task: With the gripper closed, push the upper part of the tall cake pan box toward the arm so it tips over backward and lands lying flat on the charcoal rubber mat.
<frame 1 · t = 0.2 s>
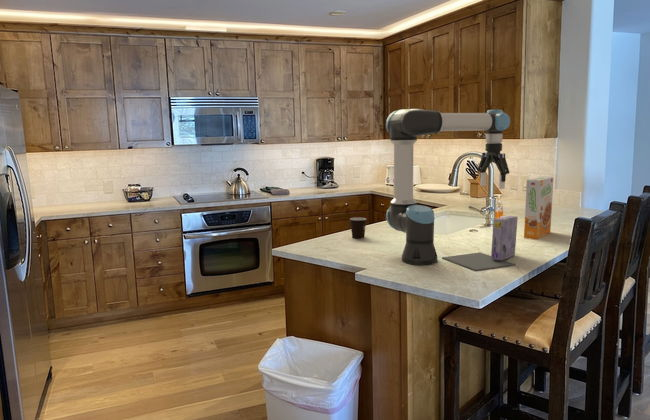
hand: (492, 187, 241), 28 cm above the worktop, tool pointing down, fingers open, 13 cm apart
coffee mug: (360, 237, 266), on the worktop
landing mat: (477, 261, 213), on the worktop
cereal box: (537, 235, 264), on the worktop
cake pan box: (503, 257, 218), on the worktop, touching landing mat
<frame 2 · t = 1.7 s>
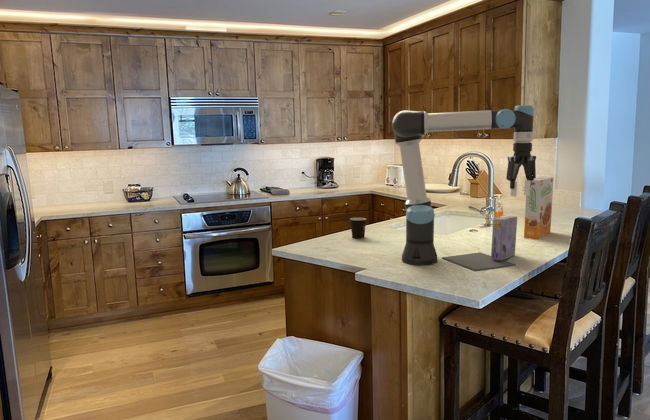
hand: (520, 195, 217), 27 cm above the worktop, tool pointing down, fingers open, 7 cm apart
nothing on the worktop moved.
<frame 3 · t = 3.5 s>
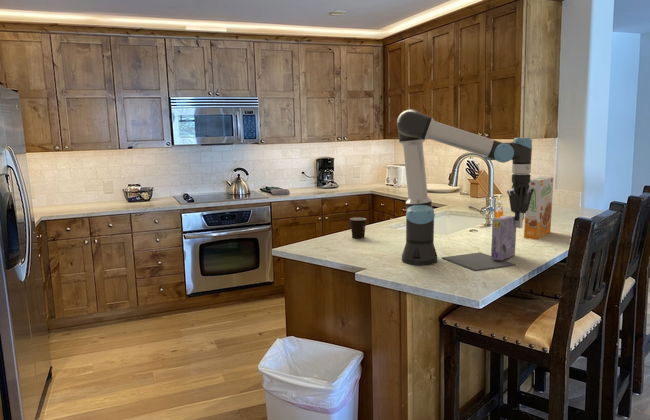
hand: (518, 227, 219), 13 cm above the worktop, tool pointing down, fingers closed
cake pan box: (503, 257, 218), on the worktop, touching gripper, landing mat
everything else where it was.
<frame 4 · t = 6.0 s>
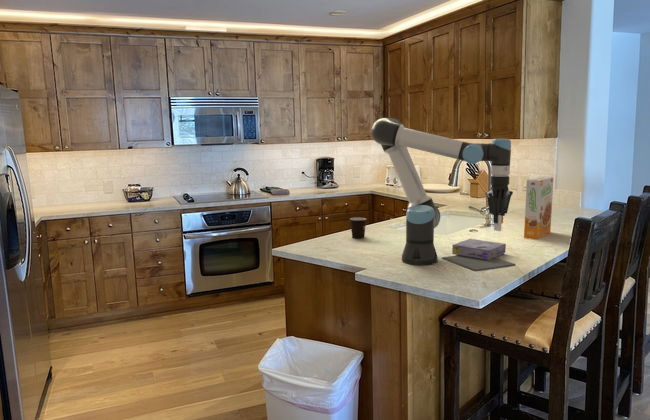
hand: (497, 230, 215), 13 cm above the worktop, tool pointing down, fingers closed
cake pan box: (499, 252, 219), point 3 cm above the worktop, touching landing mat
everything else where it was.
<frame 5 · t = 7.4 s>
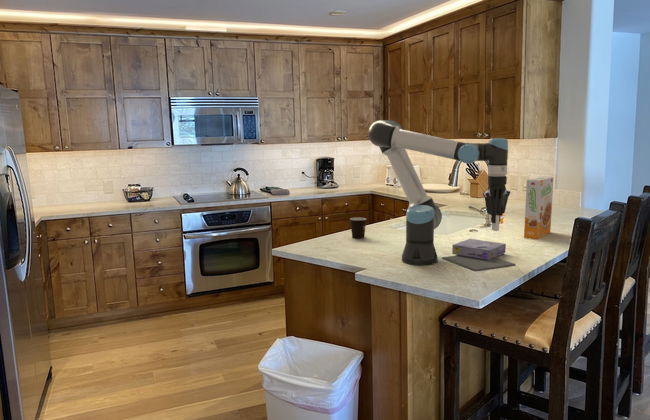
hand: (495, 230, 214), 13 cm above the worktop, tool pointing down, fingers closed
nothing on the worktop moved.
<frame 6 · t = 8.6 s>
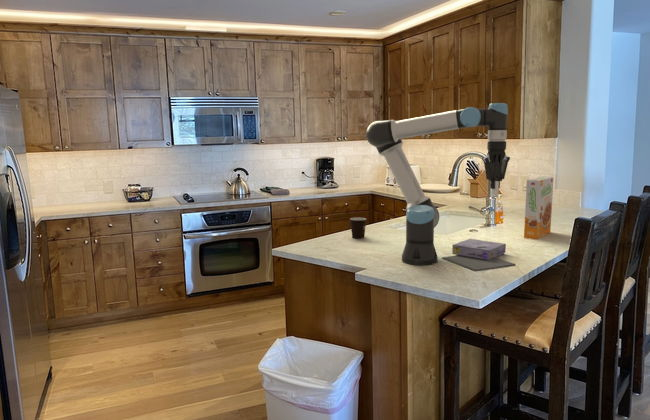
hand: (494, 196, 214), 27 cm above the worktop, tool pointing down, fingers closed
nothing on the worktop moved.
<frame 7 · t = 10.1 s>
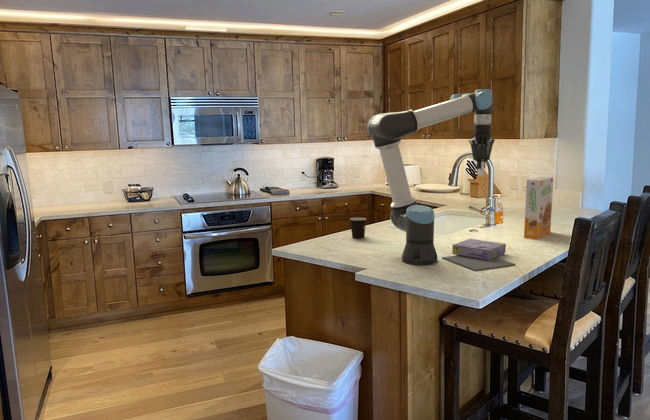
hand: (480, 175, 232), 34 cm above the worktop, tool pointing down, fingers closed
nothing on the worktop moved.
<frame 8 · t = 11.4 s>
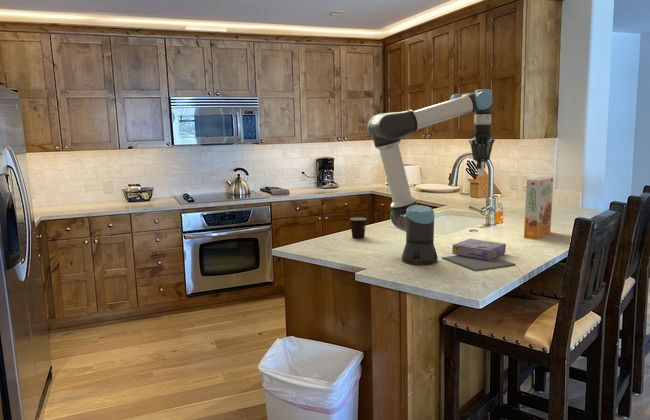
hand: (480, 175, 232), 34 cm above the worktop, tool pointing down, fingers closed
nothing on the worktop moved.
at the end: cake pan box tilted 88°; cake pan box touching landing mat; cake pan box inside the target area (1.9 cm from its centre), point 2.5 cm above the worktop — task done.
